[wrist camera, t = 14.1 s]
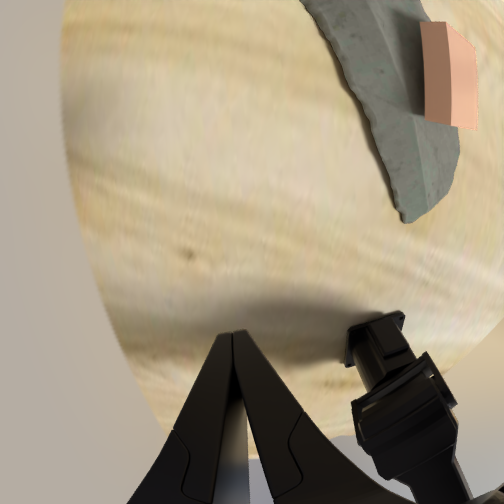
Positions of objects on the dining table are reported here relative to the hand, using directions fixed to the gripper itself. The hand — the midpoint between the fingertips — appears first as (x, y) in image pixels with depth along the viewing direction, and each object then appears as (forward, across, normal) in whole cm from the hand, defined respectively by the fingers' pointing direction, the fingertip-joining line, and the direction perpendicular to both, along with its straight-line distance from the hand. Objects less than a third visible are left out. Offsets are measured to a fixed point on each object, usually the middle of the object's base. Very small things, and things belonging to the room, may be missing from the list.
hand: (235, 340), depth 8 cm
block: (+9, -14, -8) cm, 18 cm away
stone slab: (+13, -14, -7) cm, 20 cm away
